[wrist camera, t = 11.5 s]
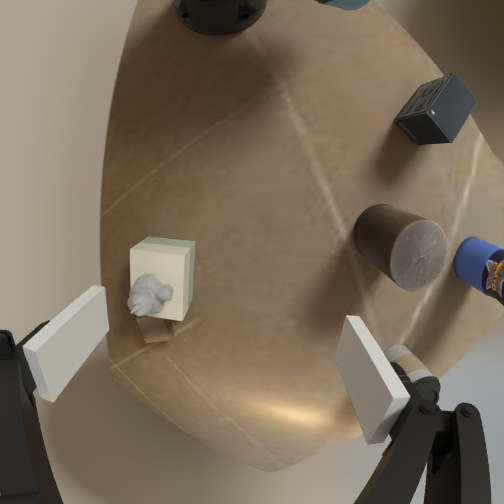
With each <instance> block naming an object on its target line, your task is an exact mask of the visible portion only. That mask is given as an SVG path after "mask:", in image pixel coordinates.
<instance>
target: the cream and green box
mask: <svg viewBox="0 0 504 504" xmlns="http://www.w3.org/2000/svg"><path fill="white" fill-rule="evenodd" d="M195 244H196V241H186V240H177V239H168V238H159V237H150V236H148V237H147V238H146V239H144V240H143V241H141V242H140V243H138V244H137V245H135V246H134V247H132V248H131V249H130V280H131V288H132V286H133V285H134V283H135V281H136V280H137V279H138V278H139V277H140V276H142V275H146V274H154V275H155V276H156V278H157V279H158V280H159V281H160V282H161V283H162V285H164V284H168V285H171V286H172V287H173V289H174V291H173V293H172V298H171V300H170V301H165V303H164V306H163V308H162V310H161V312H159V313H152V314H150V313H149V314H147V316H153V317H159V318H165V319H171V320H178V321H183V319H184V317H185V314H186V312H187V310H188V308H189V305H190V303H191V301H192V299H193V278H194V260H195Z"/></svg>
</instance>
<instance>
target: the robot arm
mask: <svg viewBox="0 0 504 504" xmlns="http://www.w3.org/2000/svg"><path fill="white" fill-rule="evenodd" d="M315 1H318V3H320V4H323V5H331V6H334V7H338V8H341V9H344V10H356V9H359V8H361V7H363V6H365V5H366V4H367V3H368V2H369V1H370V0H315ZM266 2H267V0H175V8H176V12H177V14H178V16H179V18H180V19H181V21H182V22H183V23H184V24H185V25H186V26H187V27H188V28H190V29H192V30H194V31H196V32H199V33H203V34H209V35H223V34H230V33H234V32H237V31H240V30H243V29H245V28H247V27H249V26H250V25H252V24H253V23H255V22H256V21H257V20H258V19H259V18H260V17H261V15H262V14H263V12H264V10H265V8H266ZM108 331H109V324H108V316H107V306H106V295H105V287H101V286H96V285H93V286H92V287H91V288H89V289H88V290H87V291H85V292H84V293H83V294H82V295H81V296H79V297H78V298H77V299H76V300H75V301H73V302H72V303H71V304H70V305H69V306H68V307H66V308H65V309H64V310H63V311H62V312H60V313H59V314H58V315H57V316H56V317H55V318H54V319H52V320H51V321H49V320H48V321H46V322H44V323H42V324H40V325H39V326H38V327H36V328H35V329H34V331H32V332H31V333H30V334H29V335H27V336H26V337H25V338H24V339H23V340H22V341H21V342H20V343H18V344H17V345H16V346H15V343H14V339H13V336H12V333H11V332H10V331H7V330H0V494H1V495H0V504H63V501H62V498H61V496H60V493H59V490H58V488H57V485H56V482H55V479H54V477H53V473H52V470H51V466H50V463H49V460H48V456H47V453H46V449H45V445H44V441H43V437H42V433H41V429H40V423H39V419H38V413H37V408H36V402H35V397H34V395H33V391H34V390H35V389H36V388H37V390H38V392H39V395H40V397H42V398H44V399H46V400H48V401H51V402H54V401H55V400H56V398H57V397H58V396H59V394H60V393H61V391H62V390H63V389H64V388H65V386H66V385H67V383H68V382H69V381H70V379H71V378H72V377H73V375H74V374H75V373H76V372H77V370H78V369H79V368H80V366H81V365H82V364H83V362H84V361H85V360H86V359H87V357H88V356H89V355H90V353H91V352H92V351H93V349H94V348H95V347H96V346H97V345H98V343H99V342H100V341H101V339H102V338H103V337H104V336H105V335H106V333H107V332H108ZM334 358H335V361H336V363H337V366H338V368H339V371H340V373H341V376H342V378H343V381H344V383H345V386H346V389H347V391H348V394H349V396H350V399H351V402H352V404H353V407H354V410H355V412H356V415H357V418H358V420H359V423H360V426H361V428H362V431H363V434H364V436H365V439H366V442H367V445H369V444H376V443H383V442H384V441H385V439H386V437H387V436H388V434H389V435H390V437H391V439H392V441H391V442H390V444H389V445H388V447H387V448H386V450H385V451H384V452H383V454H382V455H383V457H382V458H381V460H380V462H379V464H378V466H377V467H376V469H375V471H374V473H373V474H372V476H371V478H370V479H369V481H368V482H367V484H366V486H365V487H364V489H363V490H362V492H361V494H360V495H359V497H358V498H357V500H356V501H355V503H354V504H410V502H411V500H412V498H413V495H414V493H415V491H416V488H417V486H418V484H419V481H420V479H421V476H422V473H423V471H424V468H425V465H426V463H427V474H426V486H425V496H424V504H491V485H490V475H489V464H488V457H487V450H486V443H485V437H484V432H483V427H482V421H481V417H480V413H479V411H478V409H477V408H476V407H475V406H473V405H472V404H469V403H460V404H458V405H457V407H456V408H455V410H454V411H442V410H441V409H440V408H439V406H438V405H437V404H436V403H435V402H433V401H431V400H427V399H423V398H422V397H421V395H420V394H419V392H418V390H417V389H416V387H415V386H414V384H413V383H412V382H411V380H410V378H409V377H408V376H407V374H406V372H405V371H404V369H403V368H402V367H401V366H400V365H398V364H397V363H396V362H389V361H388V360H387V358H386V357H385V355H384V353H383V352H382V350H381V349H380V347H379V346H378V344H377V343H376V341H375V340H374V338H373V337H372V335H371V333H370V332H369V330H368V329H367V327H366V326H365V324H364V323H363V321H362V320H361V318H360V317H359V316H349V315H346V318H345V321H344V325H343V329H342V332H341V336H340V339H339V342H338V346H337V349H336V352H335V356H334Z"/></svg>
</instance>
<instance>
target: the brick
mask: <svg viewBox="0 0 504 504" xmlns="http://www.w3.org/2000/svg"><path fill="white" fill-rule="evenodd" d="M136 320H137V323H138V325H139V328H140V330H141V333H142V335H143V337H144V340H145V342H146V343H151V342H159V341H167V340H172V337H173V335H174V333H175V331H176V326H175V323H174V321H173V320H171V319H165V318H159V317H153V316H147V315H145V316H137V317H136Z"/></svg>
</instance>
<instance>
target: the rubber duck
mask: <svg viewBox="0 0 504 504" xmlns="http://www.w3.org/2000/svg"><path fill="white" fill-rule="evenodd" d="M173 291H174V289H173V287H172V286H171V285H168V284H164V285H162V283H161V282H160V281H159V280H158V279H157V278H156V276H155V275H154V274H146V275H142V276H140V277H139V278H138V279H137V280H136V281H135V283H134V285H133V286H132V288H131V290H130V292H129V296H130V297H129V299H128V301H127V304H128V306H129V308H130V310H131V313H130V314H132V313H134V314H135V315H136V316H145V315H147V314H149V313H150V314H152V313H159V312H161V310H162V308H163V306H164V303H165V301H170V300H171V298H172V293H173Z"/></svg>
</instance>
